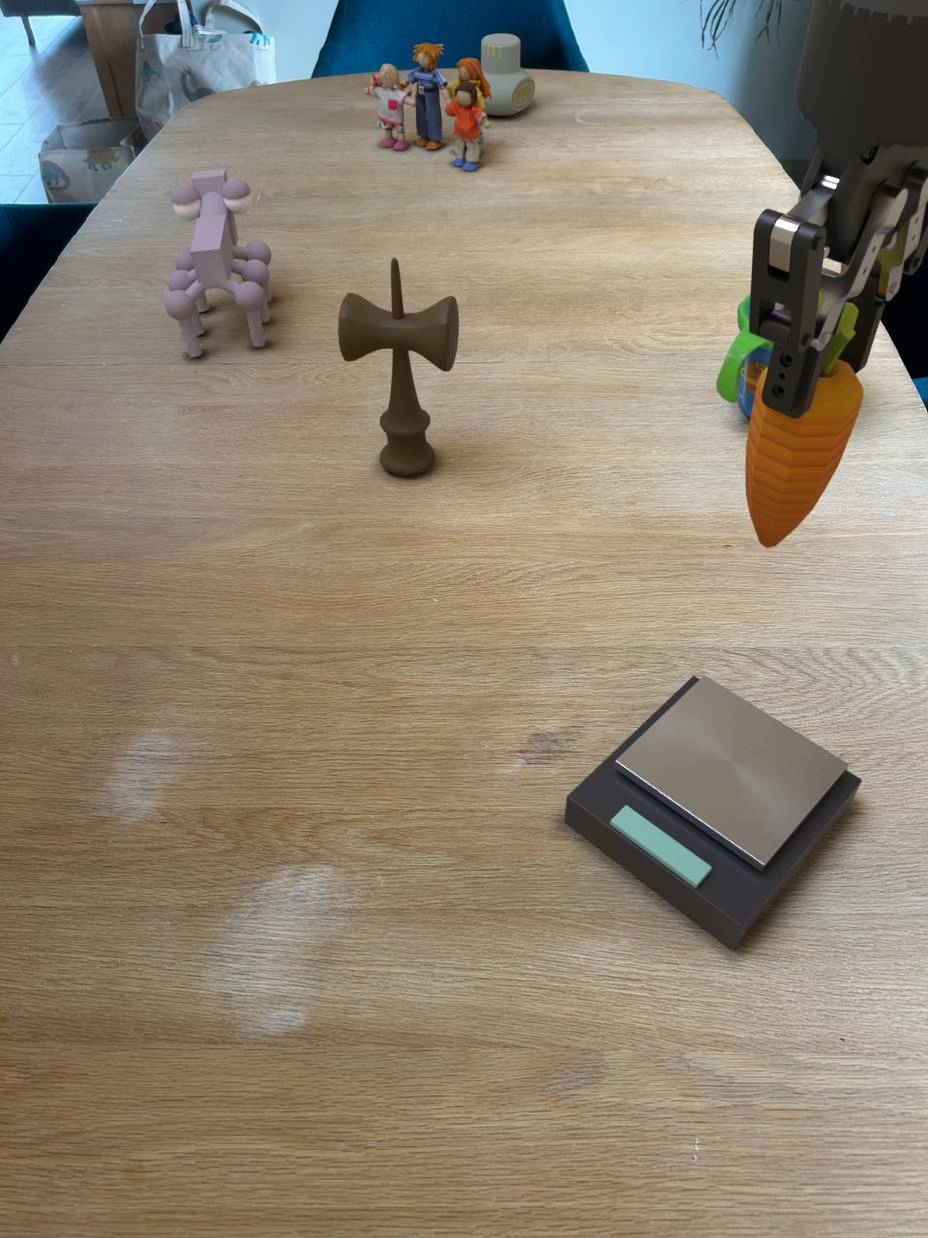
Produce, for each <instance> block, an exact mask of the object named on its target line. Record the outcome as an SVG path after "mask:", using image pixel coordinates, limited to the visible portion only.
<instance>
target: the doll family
mask: <svg viewBox="0 0 928 1238" xmlns="http://www.w3.org/2000/svg"><path fill="white" fill-rule="evenodd" d="M443 46H444V44H443V43H441V44H440V43H438V44H437V43H435V44H433V43H428V42H423V43H420V44H416V45H414V46H413V48H415V49H414V50H413V52H412V53H413V54H415V55H413V57H412V61H413V62H416V63H418V64H419V65H420V66H418V67H416V68H414V69H411V70H409V71H406V76H407V77H406V78H404V79H403V80H402V81H401V79H400V74H399V73H398V69H397V67H395V66H394V65H393V64H390V63H383V64H382V65H381V67H380V69H379V72H378V73H376V74H374V73H371V77H370V78H369V81H368V82H369V85H368V86H366V87H365V88H364V91H363V92H364V94H365V95H366V96H370V97H372V98H375V99H377V100H378V109H377V117H378V119H377V122H376V127H377V128H378V127H380V129H381V128H382V129H384V132H385V138H384V139H383V140H382V141H381V144H380V145H381V147H383V148H393V149H394V150H396V151H405V150H407V149H408V148H409V143H408V141H407V140H406V131H405V129H406V128H405V124H404V122H405V109H404V105H407V106H409V107H411V108H415V127H416V128H415V129H416V135H417V136H418V138H417V139H416V141H415V145H417V146H419V147H425V149H427V150H437V149H438V148H440V147H442V146H443V142H442V141H443V140H444V137H443V118H442V107H441V98H440V97H441V96H440V95H442V97H443V100H444V101H445V106H444V114H445V115H446V116H447V117H450V118H455V119H454V123H453V137H454V139H455V143H456V147H455V148H454V153H455V154H456V158H455V159H454V161H453V166H455V167H461V168H462V170H463V171H466V172H474V171H476V170H477V169H479V167H480V163H479V161H480V155H481V153H482V152H481V149H480V146H482V145H487V142H486V140H485V136H484V132H483V130H482V127H483V128H484V129H485V130H489V129H490V128H491V127H492V123H491V121H489V120H488V114H486V113H484V111H485V109H486V108H485V105H484V102H483V98H482V97H484V99H485V100H486V99H487V97H488V96H489V97H490V100H492V98H493V97H492V94H491V92H490V88H491V86H490V85H489V83H488V82H487V80H486V79H485V77H484V74H483V72H482V68H481V62H480V61H479V60H478V59H477V58H474V57H465V58H463V59H460V60H459V61H458V62H457V63H456V66H457V70H458V73H457V79H456V80H455V81H453V82H452V84H450V85H449V83H448V81H447V79H446V78H445V76H444V75H443V73H442V72H441V71H440V70H438V69H436V68H437V67H438V65H437V63H438V62H437V61H439V60H440V55H444V53H443V50H445V48H444V47H443ZM415 84H416V90H415V95H414V99H413V98H412V95H413V93H412V92H413V90H412V89H411V87H409V86H410V85H415ZM394 86H395V87H394ZM440 93H441V94H440ZM393 131H395V132H397V140H396V138H395V137H394V135H393Z"/></svg>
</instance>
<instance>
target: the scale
mask: <svg viewBox="0 0 928 1238" xmlns="http://www.w3.org/2000/svg"><path fill="white" fill-rule="evenodd" d="M700 679H701V678H699V677H697V676H695V675H692V676H691V677H690V679H688V680H687V681H686V682H685V683H684V684H683V685H682V686H681V687H680V688H679V689H678V690H677V691H675V692H674V693H673V694H672V695H671V696H670V697H669V698H668V699H667V700H666V701H665V702H664V703H663V704H662V705H661V706H660V707H659V708H658V709H657V710H655V712H653V714H651V715H650V716H649V717H648V718H647V719H646V720H645V721H644V722H643V723H642V724H640V726H639V727H637V729H636V730H635V731H634V732H633V733H631V734H630V735H629V737H627V738H626V739H625V740H624V741H623V742H622V743H621V744H620V745H619V746H618V747H617V748H615V750H613V752H611V754H609V756H607V758H606V759H604V760H603V761H602V762H601V763H600V764H599V765H598V766H597V767H596V768H595V769H594V770H593V771H591V772H590V773H589V774H588V775H587V776H586V777H585V778H584V779H583V780H582V781H581V782H580V783H579V784H578V785H577V786H576V787H575V788H574V789H573V790H572V791H570V793H568V794H567V796H566V802H565V811H564V812H565V813H564V818H563V819H564V820H563V822H564V823H565V824H566V825H567V826H568V827H570V828H571V829H573V830H574V831H575V832H577V833H578V834H579V835H581V836H582V837H583V838H584V839H586V840H587V841H588V842H589V843H591V844H592V845H593V846H595V847H596V848H598V849H599V850H600V851H601V852H603V853H604V854H605V855H607V856H608V857H609V858H610V859H612V860H613V861H614V862H616V863H617V864H619V865H620V866H621V867H622V868H623V869H625V870H626V871H627V872H628V873H630V874H631V875H632V876H634V877H635V878H637V879H638V880H639V881H640V882H641V883H643V884H644V885H646V886H647V887H649V889H651V890H653V892H655V893H656V894H658V895H659V896H661V898H663V899H664V900H665V901H667V902H668V903H670V904H671V905H672V906H673V907H675V908H676V909H677V910H678V911H680V912H681V913H682V914H684V915H685V916H686V917H687V918H689V919H690V920H692V921H693V922H695V923H696V925H698V926H700V927H701V928H702V929H704V930H705V931H706V932H707V933H709V934H710V935H711V936H713V937H714V938H715V939H716V940H718V941H719V942H720V943H722V944H723V945H724V946H726V947H727V948H728V949H729V950H730V951H734V950H735V949H736V947H737V946H738V945H739V944H740V943H741V941H742V940H743V939H744V937H745V936H746V935H747V934H748V932H750V930H751V929H752V927H753V926H755V924H756V923H757V921H758V920H759V919H760V918H761V917H762V915H763V914H764V913H765V912H766V911H767V909H768V908H769V907H770V905H772V903H773V902H774V900H775V899H776V898H777V897H778V896H779V894H780V893H781V892H782V891H783V890H784V888H785V887H786V886H787V884H788V883H789V882H790V881H791V879H793V877H794V876H795V875H796V873H797V872H798V871H799V869H800V868H801V867H802V866H803V865H804V864H805V862H806V861H807V860H808V859H809V858H810V856H811V855H812V853H814V851H815V850H816V849H817V847H818V846H819V845H820V844H821V843H822V841H823V840H824V839H825V838H826V836H827V835H828V834H829V833H830V831H831V830H832V829H833V828H834V827H835V825H836V824H837V823H838V822H839V820H840V819H841V818H842V817H843V816H844V814H845V813H846V812H847V811H848V810H849V808H850V807H851V805H852V803H853V801H854V799H855V796H856V794H857V793H858V791H859V788H860V786H861V784H862V782H863V779H862V778H860V777H859V776H857V775H855V774H854V773H852V772H850V771H848V770H847V771H846V772H845V773H844V775H843V776H842V777H841V778H840V779H839V781H838V782H837V783H836V784H835V785H834V786H833V788H832V789H831V790H830V791H829V792H828V794H827V795H826V796H825V797H824V798H823V800H822V801H821V802H820V803H819V804H818V806H817V807H816V808H815V809H814V810H813V812H812V813H811V814H810V815H809V816H808V818H807V819H806V820H805V821H804V822H803V823H802V825H801V826H800V827H799V828H798V829H797V831H796V832H795V833H794V834H793V835H792V837H791V838H790V839H789V840H788V841H787V843H786V844H785V845H784V846H783V847H782V849H781V850H780V851H779V852H778V853H777V855H776V856H775V857H774V858H773V859H772V860H771V862H770V863H769V864H768V865H767V866H766V868H765V869H764V870H763V871H762V872H761V871H759V870H758V869H757V868H755V867H754V866H752V865H751V864H750V863H748V862H747V861H745V860H744V859H742V858H741V857H740V856H738V855H737V854H735V853H734V852H733V851H731V850H730V849H728V848H727V847H726V846H724V845H723V844H721V843H720V842H718V841H717V840H716V839H714V838H713V837H711V836H710V835H709V834H707V833H706V832H704V831H703V830H701V829H700V828H699V827H697V826H696V825H694V824H693V823H692V822H690V821H689V820H687V819H686V818H685V817H683V816H682V815H680V814H679V813H677V812H676V811H675V810H673V809H672V808H670V807H669V806H668V805H666V804H665V803H663V802H662V801H660V800H659V799H658V798H656V797H655V796H653V795H652V794H651V793H649V792H648V791H646V790H645V789H644V788H642V787H641V786H639V785H638V784H636V783H635V782H634V781H632V780H631V779H629V778H628V777H627V776H625V775H624V774H622V773H621V772H619V771H618V770H617V769H615V768H614V766H615V761H616V760H617V759H618V758H619V757H620V756H621V755H622V754H623V753H624V752H625V751H626V750H627V749H628V748H629V747H630V746H631V745H632V744H633V743H634V742H635V741H636V740H637V739H638V738H639V737H640V736H641V735H643V734H644V733H645V732H646V731H647V730H648V729H649V728H650V727H651V726H652V725H653V724H654V723H655V722H656V721H657V720H658V719H659V718H660V717H661V716H662V715H663V714H664V713H665V712H666V711H667V710H669V709H670V708H671V707H672V706H673V705H674V704H675V703H676V702H677V701H678V700H679V699H680V698H681V697H682V696H683V695H684V694H685V693H686V692H687V691H688V690H689V689H690V688H691V687H692V686H693V685H694V684H696V683H697V682H698V681H699V680H700Z"/></svg>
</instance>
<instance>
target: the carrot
mask: <svg viewBox="0 0 928 1238" xmlns="http://www.w3.org/2000/svg"><path fill="white" fill-rule="evenodd" d="M823 301H824V294H823V293H822V292H821V291H820V292H819V300H818V308H817V316H818V313H819V311H820V308H821V306H822V303H823ZM858 312H859V311H858V308H857V307H856V306H855V305H854V304H853V303H848V302H846V303H845V305H844V309H843V312H842V315H841V318H840V321H839V325H838V328H837V332H836V334H835V336H834V337H833V338H832V336H833V332H832V335H831V339H830V341H829V342H828V343H827V344H828V347H827V351H826V354H825V358H824V361H823V365H822V368H821V372H820V375H819V379H818V383H817V386H816V390H815V393H814V397H813V400H812V404H811V407H810V409H809V410H808V411H807V412H806V413H805V414H803V415H802V416H801V417H799V418H796V419H794V418H790V417H788V416H786V415H784V414H782V413H779V412H777V411H775V410H773V409H771V408H768V407H767V406H765V405H764V403H763V402H762V398H761V395H762V391H763V386H764V382H765V378H766V374H767V370H768V367H767V368H766V369H765V370H764V371H763V372H762V374H761V376H760V378H759V381H758V383H757V388H756V393H755V398H754V403H753V408H752V414H751V418H750V421H749V425H748V432H747V438H746V446H745V470H744V471H745V474H744V475H745V477H744V478H745V497H746V502H747V508H748V512H749V516H750V519H751V523H752V525H753V528H754V531H755V534H756V537H757V540H758V542H759V544H760V545H762V546H763V547H764V548H766V549H768V548H774V547H777V546H778V545H779V544H780V543H781V542H783V540H785V539H786V538H787V537H788V536H789V535H790V534H791V533H793V531H795V530H796V529H797V528H798V527H799V526H800V525H801V524H802V523H803V521H804V520H805V519H806V518H807V517H808V515H809V514H810V513H811V512H812V511H813V510H814V508H815V507H816V506H817V503H819V500H820V499H821V497H822V496H823V494H824V493H825V490H826V489H827V487H828V486H829V483H830V482H831V480H832V478H833V476H834V475H835V473H836V471H837V469H838V468H839V466H840V463H841V460H842V459H843V455H844V453H845V450H846V448H847V445H848V443H849V440H850V437H851V435H852V432H853V430H854V426H855V425H856V421H857V418H858V415H859V413H860V410H861V407H862V404H863V400H864V386H863V385H862V383H861V381H860V380H859V378H858V376H857V373H856V374H855V373H854V371H853V369H852V367H851V366H850V365H849V364H848V363H847V362H844V361H842V360H839V359H838V357H839V356H840V354H841V352H842V351H843V349H844V347H845V345H846V344H847V343H848V342H849V341H850V340H851V339H852V337H853V336H854V335H855V334H856V333H855V331H854V329H853V328H854V325H855V322H856V319H857V316H858ZM816 318H817V317H816Z"/></svg>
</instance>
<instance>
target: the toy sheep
mask: <svg viewBox="0 0 928 1238" xmlns="http://www.w3.org/2000/svg"><path fill="white" fill-rule="evenodd" d="M190 180H191V184H189V183H181V184H179V185H176V186H175V188H174V189H173V190H172V192H171V202H172V203H173V211H174V212H175V214H176V215H177V217H178V218H179V219H181V220H182V221H186V222H193V221H196V222H195V226H194V231H193V235H192V240H191V245H190V248H184V249H181V250H179V252H178V253H177V254H176V255H175V258H174V266H175V269H176V270H174V271H173V272H172V273H171V275H170V276H169V278H168V282H167V283H168V285H167V286H168V290H169V291H170V292H169V293H168V294H167V296H166V297H165V300H164V308H165V311H166V313H167V314H168V316H169V317H171V318H172V319H173V320H176V321H177V322H178V325H179V328H180V331H181V334H182V337H183V340H184V343H185V346H186V349H187V352H188V355H189V358H198V357H200V356H202V354H203V351H202V348H201V344H200V341H199V339H198V336H201V335H203V334H204V333H205V328H204V324H203V322H202V319H201V316H200V313H203V312H206V311H209V310H210V305H209V302H208V298H207V296H206V293H205V292H206V291H207V290H211V289H212V290H213V289H221V290H223V291H225V292H227V293H228V294H230V295H232V296H233V297H234V300H235V302H236V304H237V306H238V308H240V309H241V310H242V311H245V313H246V319H247V324H248V329H249V333H250V338H251V343H252V345H253V346H254V347H256V348H261V347H264V346H265V345H266V339H265V335H264V334H265V333H264V329H263V324H262V323H267V322H269V321H270V319H271V318H270V311H269V306H268V303H269V302H272V293H271V288H270V287H271V286H270V276H271V275H270V270H269V268H268V266H269V265H270V263H271V262H272V251H271V249H270V246H268V244H267V243H265V242H264V241H262V240H252V241H249V242H248V243H246V245H245V246H240V245H238V241H239V235H238V229H237V225H236V219H235V215H244V214H247V213H248V212H249V211H250V210H251V208H252V205H253V195H252V191H251V188H250V185H249V184H248V183H247V182H246V181H245V180H244V179H242V178H239V177H232V178H230V179H228V174H227V169H226V168H219V169H210V170H200V171H193V172H192V175H191V178H190ZM240 260H241V261H240ZM243 261H245V262H243ZM232 274H235V275H239V276H240V277H241V280H242V282H241V283H239V282H238V281H236V280H234V279H232Z"/></svg>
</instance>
